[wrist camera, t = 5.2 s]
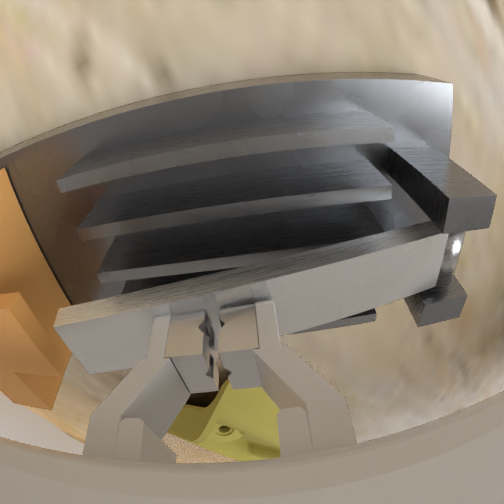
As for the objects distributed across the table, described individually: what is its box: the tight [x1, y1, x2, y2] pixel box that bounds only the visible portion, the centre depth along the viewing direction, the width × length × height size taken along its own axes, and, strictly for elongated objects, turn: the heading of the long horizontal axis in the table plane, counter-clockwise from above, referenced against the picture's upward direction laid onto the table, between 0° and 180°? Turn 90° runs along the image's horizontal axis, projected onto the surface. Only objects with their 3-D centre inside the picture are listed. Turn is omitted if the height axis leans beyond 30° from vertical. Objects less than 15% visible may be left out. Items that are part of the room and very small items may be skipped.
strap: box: [53, 220, 466, 375], centre depth 10 cm, size 14×2×1 cm, turn 97°
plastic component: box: [167, 379, 281, 461], centre depth 29 cm, size 20×7×10 cm
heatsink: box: [0, 72, 497, 335], centre depth 13 cm, size 24×11×8 cm, turn 98°
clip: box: [0, 168, 72, 410], centre depth 11 cm, size 6×10×6 cm, turn 8°
